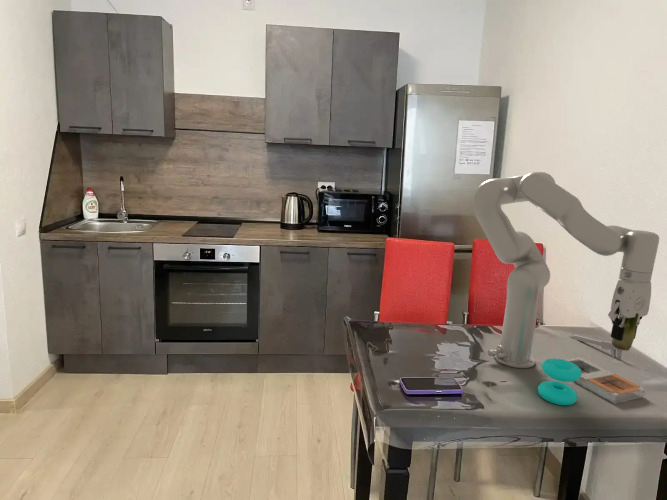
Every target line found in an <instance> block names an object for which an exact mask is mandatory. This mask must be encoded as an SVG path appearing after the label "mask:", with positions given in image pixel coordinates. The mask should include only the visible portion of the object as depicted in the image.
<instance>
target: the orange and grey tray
mask: <svg viewBox="0 0 667 500" xmlns="http://www.w3.org/2000/svg"><path fill="white" fill-rule="evenodd" d="M563 360H566V361H569V362H572V363H574V364H575V365H577V366H578V367H579V368H580V370H581V369H582V370H583V371H585V372H587V373H582V374H581V377H580V378H579V379H578V380H576V381H574V383H576V384H578V385H580V386H581V387H583V388H586V389H587V390H589V391H591V392H592V393H595V394H596V395H598V396H599V397H601V398H603V399H605V400H606V399H607V400H606V401H608V400H609V402H610V403H612V404H613V405H614V404H620V403H624V402H629V401H632V400H637V399H643V398H644V395H645V390H646V389H645V388H643V387H641V385H638V384H637V383H635V382H632V381H630V380H628V379H626V378H625V377H623V376H620V375H618V374H616V373H613V372H611V371H609V370H607V369H605V368H603V367H601V366H599V365H598V364H595V363H594V362H592V361H589V360H587V359H586V358H584V357H581V356H577V357H571V358H566V359H565V358H564V359H563Z"/></svg>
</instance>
